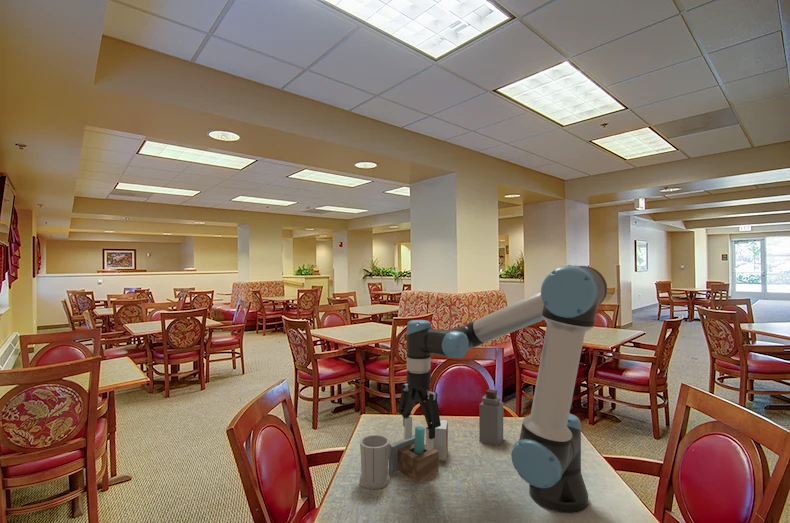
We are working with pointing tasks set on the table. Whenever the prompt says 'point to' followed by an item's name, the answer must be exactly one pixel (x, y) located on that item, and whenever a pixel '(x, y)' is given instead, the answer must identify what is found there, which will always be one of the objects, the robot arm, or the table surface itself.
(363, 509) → the table surface
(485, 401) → the perfume bottle
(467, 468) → the table surface
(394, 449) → the wall
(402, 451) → the block
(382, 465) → the cup
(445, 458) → the small box
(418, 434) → the dowel
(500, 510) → the table surface
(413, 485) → the table surface
